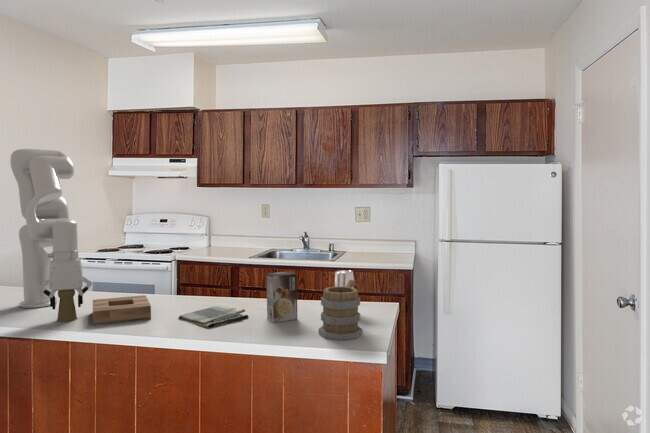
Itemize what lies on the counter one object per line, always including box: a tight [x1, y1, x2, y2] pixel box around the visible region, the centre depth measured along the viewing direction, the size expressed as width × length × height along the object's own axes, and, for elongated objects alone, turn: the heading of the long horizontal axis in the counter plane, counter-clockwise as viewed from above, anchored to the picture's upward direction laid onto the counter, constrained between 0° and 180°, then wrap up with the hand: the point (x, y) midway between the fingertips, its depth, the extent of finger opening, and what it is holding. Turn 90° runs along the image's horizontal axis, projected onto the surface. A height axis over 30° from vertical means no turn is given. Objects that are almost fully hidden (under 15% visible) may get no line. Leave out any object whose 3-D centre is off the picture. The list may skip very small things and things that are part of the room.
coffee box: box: [266, 271, 298, 323], centre depth 165 cm, size 9×6×16 cm
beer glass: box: [334, 269, 355, 288], centre depth 175 cm, size 7×7×15 cm
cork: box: [56, 289, 78, 323], centre depth 163 cm, size 6×6×11 cm
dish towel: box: [178, 305, 249, 329], centre depth 166 cm, size 19×18×3 cm
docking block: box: [92, 294, 152, 326], centre depth 168 cm, size 18×18×5 cm
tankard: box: [318, 280, 363, 341], centre depth 152 cm, size 20×13×15 cm, turn 157°
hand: (66, 307), depth 164 cm, fingers open, 7 cm apart
